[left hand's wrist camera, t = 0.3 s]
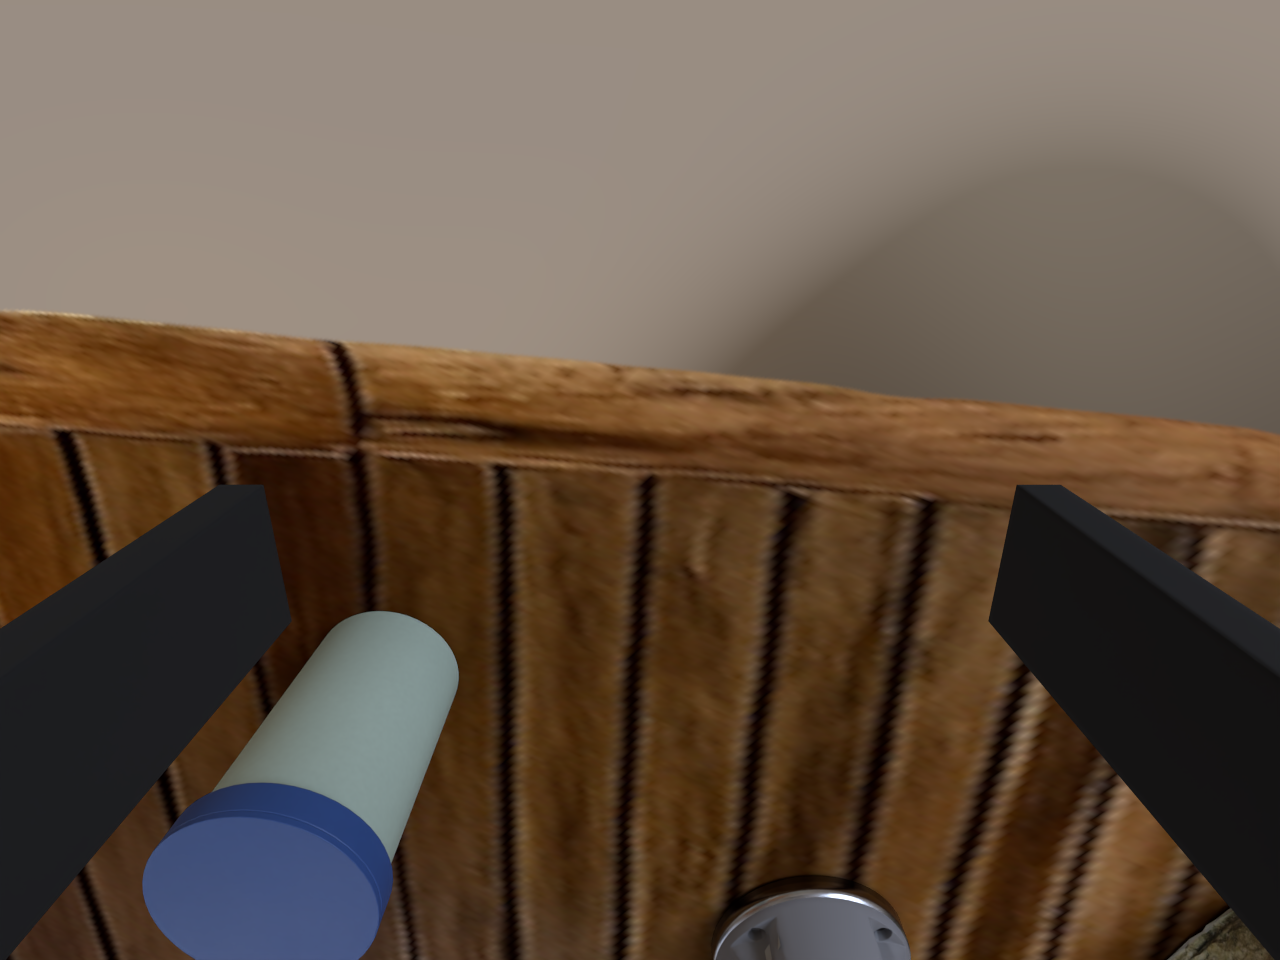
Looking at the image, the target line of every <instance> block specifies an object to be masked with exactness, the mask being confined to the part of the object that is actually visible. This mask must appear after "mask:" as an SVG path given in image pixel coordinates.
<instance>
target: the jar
mask: <svg viewBox="0 0 1280 960" xmlns="http://www.w3.org/2000/svg"><path fill="white" fill-rule="evenodd" d="M458 681H459V672H458V666H457V662H456V659H455V657H454V655H453V653H452V651H451V649H450V647H449V646H448V644H447V643H446V642H445V640H444V639H443V638H442V637H441V636H440V635H439V634H438V633H437V632H436V631H434V630H433V629H432V628H430V627H429V626H428V625H426V624H424V623H423V622H421V621H419V620H417V619H414V618H412V617H410V616H407V615H403V614H400V613H394V612H386V611H372V612H366V613H361V614H357V615H354V616H352V617H349V618H347V619H345V620H343V621H342V622H340V623H339V624H337V625H336V626H335V627H334V628H333V629H332V630H331V631H330V632H329V633H328V634H327V636H326V637H325V638H324V640H323V641H322V642H321V644H320V645H319V647H318V648H317V649H316V651H315V652H314V653H313V655H312V656H311V657H310V659H309V660H308V662H307V663H306V664H305V666H304V667H303V668H302V670H301V671H300V672H299V674H298V675H297V677H296V678H295V679H294V681H293V682H292V683H291V685H290V686H289V687H288V689H287V690H286V692H285V693H284V694H283V696H282V697H281V698H280V700H279V701H278V702H277V704H276V705H275V707H274V708H273V709H272V711H271V712H270V713H269V715H268V716H267V717H266V719H265V720H264V722H263V723H262V724H261V726H260V727H259V728H258V730H257V731H256V732H255V734H254V735H253V737H252V738H251V739H250V741H249V742H248V743H247V745H246V746H245V747H244V749H243V750H242V752H241V753H240V754H239V756H238V757H237V758H236V760H235V761H234V762H233V764H232V765H231V766H230V768H229V769H228V771H227V772H226V773H225V775H224V776H223V777H222V779H221V780H220V781H219V783H218V784H217V786H216V787H215V788H214V790H213V791H212V792H214V791H216V790H218V789H221V788H225V787H229V786H232V785H238V784H245V783H279V784H285V785H291V786H296V787H300V788H304V789H307V790H311V791H313V792H316V793H319V794H322V795H324V796H326V797H328V798H330V799H332V800H335V801H337V802H338V803H340V804H342V805H343V806H345V807H347V808H348V809H350V810H351V811H352V812H354V813H355V814H356V815H358V816H359V817H360V818H361V819H363V820H364V821H365V822H366V823H367V824H368V825H369V826H370V827H371V828H372V830H373V831H374V832H375V833H376V835H377V836H378V837H379V838H380V840H381V842H382V843H383V845H384V847H385V849H386V851H387V853H388V856H389V858H390V862H392V860H393V857H394V854H395V852H396V849H397V847H398V844H399V841H400V839H401V836H402V833H403V831H404V828H405V825H406V823H407V820H408V818H409V815H410V812H411V810H412V807H413V804H414V802H415V799H416V797H417V794H418V791H419V789H420V786H421V783H422V781H423V778H424V775H425V773H426V770H427V768H428V765H429V762H430V760H431V757H432V754H433V752H434V749H435V747H436V744H437V741H438V739H439V736H440V733H441V731H442V728H443V725H444V723H445V720H446V718H447V715H448V712H449V710H450V707H451V704H452V702H453V699H454V697H455V694H456V691H457V688H458Z"/></svg>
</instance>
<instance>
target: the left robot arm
mask: <svg viewBox="0 0 1280 960" xmlns="http://www.w3.org/2000/svg"><path fill="white" fill-rule="evenodd" d="M290 622H291V616H290V611H289V606H288V602H287V597H286V592H285V587H284V582H283V578H282V573H281V568H280V563H279V558H278V553H277V549H276V544H275V539H274V534H273V529H272V525H271V520H270V515H269V510H268V505H267V501H266V496H265V491H264V486H263V485H218V486H217V487H215V488H214V489H212V490H211V491H209V492H208V493H206V494H205V495H203V496H202V497H200V498H199V499H197V500H196V501H194V502H193V503H191V504H189V505H188V506H186V507H185V508H183V509H182V510H180V511H179V512H177V513H176V514H174V515H173V516H171V517H170V518H168V519H167V520H165V521H164V522H162V523H161V524H159V525H158V526H156V527H154V528H153V529H151V530H150V531H148V532H147V533H145V534H144V535H142V536H141V537H139V538H138V539H136V540H135V541H133V542H132V543H130V544H129V545H127V546H126V547H124V548H123V549H121V550H119V551H118V552H116V553H115V554H113V555H112V556H110V557H109V558H107V559H106V560H104V561H103V562H101V563H100V564H98V565H97V566H95V567H94V568H92V569H91V570H89V571H88V572H86V573H85V574H83V575H81V576H80V577H78V578H77V579H75V580H74V581H72V582H71V583H69V584H68V585H66V586H65V587H63V588H62V589H60V590H59V591H57V592H56V593H54V594H53V595H51V596H50V597H48V598H46V599H45V600H43V601H42V602H40V603H39V604H37V605H36V606H34V607H33V608H31V609H30V610H28V611H27V612H25V613H24V614H22V615H21V616H19V617H18V618H16V619H15V620H13V621H11V622H10V623H8V624H7V625H5V626H4V627H2V628H1V629H0V960H6V959H7V958H8V956H9V955H10V954H11V953H12V952H13V950H14V949H15V948H16V947H17V946H18V945H19V943H20V942H21V941H22V940H23V939H24V937H25V936H26V935H27V934H28V933H29V931H30V930H31V929H32V928H33V927H34V926H35V924H36V923H37V922H38V921H39V920H40V918H41V917H42V916H43V915H44V914H45V913H46V911H47V910H48V909H49V908H50V907H51V905H52V904H53V903H54V902H55V901H56V900H57V898H58V897H59V896H60V895H61V894H62V892H63V891H64V890H65V889H66V888H67V886H68V885H69V884H70V883H71V882H72V881H73V879H74V878H75V877H76V876H77V875H78V873H79V872H80V871H81V870H82V869H83V868H84V866H85V865H86V864H87V863H88V862H89V860H90V859H91V858H92V857H93V856H94V854H95V853H96V852H97V851H98V850H99V849H100V847H101V846H102V845H103V844H104V843H105V841H106V840H107V839H108V838H109V837H110V836H111V834H112V833H113V832H114V831H115V830H116V828H117V827H118V826H119V825H120V824H121V823H122V821H123V820H124V819H125V818H126V817H127V815H128V814H129V813H130V812H131V811H132V809H133V808H134V807H135V806H136V805H137V804H138V802H139V801H140V800H141V799H142V798H143V796H144V795H145V794H146V793H147V792H148V791H149V789H150V788H151V787H152V786H153V785H154V783H155V782H156V781H157V780H158V779H159V778H160V776H161V775H162V774H163V773H164V772H165V770H166V769H167V768H168V767H169V766H170V764H171V763H172V762H173V761H174V760H175V759H176V757H177V756H178V755H179V754H180V753H181V751H182V750H183V749H184V748H185V747H186V746H187V744H188V743H189V742H190V741H191V740H192V738H193V737H194V736H195V735H196V734H197V732H198V731H199V730H200V729H201V728H202V727H203V725H204V724H205V723H206V722H207V721H208V719H209V718H210V717H211V716H212V715H213V714H214V712H215V711H216V710H217V709H218V708H219V706H220V705H221V704H222V703H223V702H224V701H225V699H226V698H227V697H228V696H229V695H230V693H231V692H232V691H233V690H234V689H235V687H236V686H237V685H238V684H239V683H240V682H241V680H242V679H243V678H244V677H245V676H246V674H247V673H248V672H249V671H250V670H251V669H252V667H253V666H254V665H255V664H256V663H257V661H258V660H259V659H260V658H261V657H262V655H263V654H264V653H265V652H266V651H267V650H268V648H269V647H270V646H271V645H272V644H273V642H274V641H275V640H276V639H277V638H278V637H279V635H280V634H281V633H282V632H283V631H284V629H285V628H286V627H287V626H288V625H289V624H290ZM989 622H990V624H991V625H992V626H993V627H994V628H995V629H996V631H997V632H998V633H999V634H1000V635H1001V637H1002V638H1003V639H1004V640H1005V641H1006V642H1007V644H1008V645H1009V646H1010V647H1011V648H1012V650H1013V651H1014V652H1015V653H1016V654H1017V656H1018V657H1019V658H1020V659H1021V660H1022V661H1023V663H1024V664H1025V665H1026V666H1027V667H1028V669H1029V670H1030V671H1031V672H1032V673H1033V674H1034V676H1035V677H1036V678H1037V679H1038V680H1039V682H1040V683H1041V684H1042V685H1043V686H1044V687H1045V689H1046V690H1047V691H1048V692H1049V693H1050V695H1051V696H1052V697H1053V698H1054V699H1055V701H1056V702H1057V703H1058V704H1059V705H1060V706H1061V708H1062V709H1063V710H1064V711H1065V712H1066V714H1067V715H1068V716H1069V717H1070V718H1071V719H1072V721H1073V722H1074V723H1075V724H1076V725H1077V727H1078V728H1079V729H1080V730H1081V731H1082V732H1083V734H1084V735H1085V736H1086V737H1087V738H1088V740H1089V741H1090V742H1091V743H1092V744H1093V746H1094V747H1095V748H1096V749H1097V750H1098V751H1099V753H1100V754H1101V755H1102V756H1103V757H1104V759H1105V760H1106V761H1107V762H1108V763H1109V764H1110V766H1111V767H1112V768H1113V769H1114V770H1115V772H1116V773H1117V774H1118V775H1119V776H1120V778H1121V779H1122V780H1123V781H1124V782H1125V783H1126V785H1127V786H1128V787H1129V788H1130V789H1131V791H1132V792H1133V793H1134V794H1135V795H1136V796H1137V798H1138V799H1139V800H1140V801H1141V802H1142V804H1143V805H1144V806H1145V807H1146V808H1147V809H1148V811H1149V812H1150V813H1151V814H1152V815H1153V817H1154V818H1155V819H1156V820H1157V821H1158V823H1159V824H1160V825H1161V826H1162V827H1163V828H1164V830H1165V831H1166V832H1167V833H1168V834H1169V836H1170V837H1171V838H1172V839H1173V840H1174V841H1175V843H1176V844H1177V845H1178V846H1179V847H1180V849H1181V850H1182V851H1183V852H1184V853H1185V854H1186V856H1187V857H1188V858H1189V859H1190V860H1191V862H1192V863H1193V864H1194V865H1195V866H1196V868H1197V869H1198V870H1199V871H1200V872H1201V873H1202V875H1203V876H1204V877H1205V878H1206V879H1207V881H1208V882H1209V883H1210V884H1211V885H1212V886H1213V888H1214V889H1215V890H1216V891H1217V892H1218V894H1219V895H1220V896H1221V897H1222V898H1223V900H1224V901H1225V902H1226V903H1227V904H1228V905H1229V907H1230V908H1231V909H1232V910H1233V911H1234V913H1235V914H1236V915H1237V916H1238V917H1239V918H1240V920H1241V921H1242V922H1243V923H1244V924H1245V926H1246V927H1247V928H1248V929H1249V930H1250V931H1251V933H1252V934H1253V935H1254V936H1255V937H1256V939H1257V940H1258V941H1259V942H1260V943H1261V945H1262V946H1263V947H1264V948H1265V949H1266V950H1267V952H1268V953H1269V954H1270V955H1271V956H1272V958H1273V959H1274V960H1280V629H1279V628H1278V627H1276V626H1275V625H1273V624H1272V623H1270V622H1269V621H1267V620H1265V619H1264V618H1262V617H1261V616H1259V615H1258V614H1256V613H1255V612H1253V611H1252V610H1250V609H1249V608H1247V607H1246V606H1244V605H1243V604H1241V603H1240V602H1238V601H1237V600H1235V599H1234V598H1232V597H1230V596H1229V595H1227V594H1226V593H1224V592H1223V591H1221V590H1220V589H1218V588H1217V587H1215V586H1214V585H1212V584H1211V583H1209V582H1208V581H1206V580H1205V579H1203V578H1202V577H1200V576H1199V575H1197V574H1195V573H1194V572H1192V571H1191V570H1189V569H1188V568H1186V567H1185V566H1183V565H1182V564H1180V563H1179V562H1177V561H1176V560H1174V559H1173V558H1171V557H1170V556H1168V555H1167V554H1165V553H1164V552H1162V551H1160V550H1159V549H1157V548H1156V547H1154V546H1153V545H1151V544H1150V543H1148V542H1147V541H1145V540H1144V539H1142V538H1141V537H1139V536H1138V535H1136V534H1135V533H1133V532H1132V531H1130V530H1129V529H1127V528H1126V527H1124V526H1122V525H1121V524H1119V523H1118V522H1116V521H1115V520H1113V519H1112V518H1110V517H1109V516H1107V515H1106V514H1104V513H1103V512H1101V511H1100V510H1098V509H1097V508H1095V507H1094V506H1092V505H1091V504H1089V503H1087V502H1086V501H1084V500H1083V499H1081V498H1080V497H1078V496H1077V495H1075V494H1074V493H1072V492H1071V491H1069V490H1068V489H1066V488H1065V487H1063V486H1062V485H1017V486H1016V491H1015V496H1014V501H1013V505H1012V510H1011V515H1010V520H1009V525H1008V529H1007V534H1006V539H1005V544H1004V549H1003V553H1002V558H1001V563H1000V568H999V573H998V578H997V582H996V587H995V592H994V597H993V602H992V606H991V611H990V616H989ZM711 949H712V960H911V953H910V947H909V944H908V941H907V938H906V935H905V933H904V930H903V927H902V924H901V922H900V919H899V917H898V915H897V913H896V912H895V910H894V908H893V907H892V906H891V905H890V904H889V902H887V901H886V900H885V899H884V898H883V897H882V896H881V895H879V894H878V893H876V892H875V891H873V890H871V889H870V888H868V887H866V886H863V885H861V884H858V883H856V882H853V881H849V880H846V879H841V878H836V877H827V876H804V877H795V878H789V879H784V880H780V881H776V882H773V883H770V884H767V885H765V886H763V887H760V888H758V889H756V890H754V891H752V892H750V893H749V894H747V895H745V896H744V897H742V898H741V899H740V900H738V901H737V902H736V903H735V904H734V905H732V906H731V907H730V908H729V909H728V910H727V912H726V913H725V914H724V915H723V917H722V918H721V919H720V921H719V923H718V925H717V926H716V929H715V931H714V934H713V938H712V945H711Z"/></svg>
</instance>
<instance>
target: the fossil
mask: <svg viewBox="0 0 1280 960" xmlns="http://www.w3.org/2000/svg"><path fill="white" fill-rule="evenodd" d="M1168 960H1274V959H1273V958H1272V956H1271V955H1270V954H1269V953H1268V952H1267V950H1266V949H1265V948H1264V947H1263V946H1262V945H1261V943H1260V942H1259V941H1258V940H1257V939H1256V937H1255V936H1254V935H1253V934H1252V933H1251V931H1250V930H1249V929H1248V928H1247V927H1246V926H1245V924H1244V923H1243V922H1242V921H1241V920H1240V918H1239V917H1238V916H1237V915H1236V914H1235V913H1234V911H1233V910H1232V909H1231V908H1230V909H1228V910H1227V911H1226V912H1225V913H1223V914H1222V915H1221V916H1219V917H1218V918H1217V919H1216V920H1214V921H1212V922H1211V923H1209V924H1208V925H1206V927H1205V928H1204V930H1203V931H1202V932H1201V933H1199V934H1197V935H1195V936H1194V937H1192V938H1190V939H1189V940H1188V941H1187V942H1186V943H1185V944H1184V945H1183V946H1182V947H1180V948H1179V949H1178V950H1177V951H1176V952H1175V953H1174V954H1173V955H1172V956H1171V957H1170V958H1169V959H1168Z"/></svg>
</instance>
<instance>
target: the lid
mask: <svg viewBox="0 0 1280 960" xmlns="http://www.w3.org/2000/svg"><path fill="white" fill-rule="evenodd" d="M142 883H143V895H144V899H145V903H146V906H147V908H148V911H149V913H150V915H151V917H152V918H153V920H154V922H155V923H156V925H157V926H158V927H159V929H160V930H161V931H162V932H163V934H164V935H165V936H166V937H167V938H168V939H169V940H170V941H171V942H172V943H173V944H174V945H176V946H177V947H178V948H180V949H181V950H182V951H183V952H185V953H186V954H188V955H189V956H191V957H192V958H194V959H196V960H358V959H359V958H360V957H361V956H362V955H363V954H364V953H365V952H366V951H367V949H368V948H369V947H370V946H371V944H372V942H373V940H374V938H375V936H376V933H377V931H378V928H379V925H380V922H381V920H382V917H383V914H384V911H385V909H386V906H387V903H388V900H389V897H390V894H391V891H392V884H393V874H392V866H391V862H390V858H389V856H388V853H387V851H386V849H385V847H384V845H383V843H382V842H381V840H380V838H379V837H378V836H377V835H376V833H375V832H374V831H373V830H372V828H371V827H370V826H369V825H368V824H367V823H366V822H365V821H364V820H363V819H361V818H360V817H359V816H358V815H356V814H355V813H354V812H352V811H351V810H350V809H348V808H347V807H345V806H343V805H342V804H340V803H338V802H337V801H335V800H332V799H330V798H328V797H326V796H324V795H322V794H319V793H316V792H313V791H311V790H307V789H304V788H300V787H296V786H291V785H285V784H279V783H245V784H238V785H232V786H229V787H225V788H221V789H218V790H216V791H214V792H211V793H209V794H207V795H205V796H203V797H202V798H200V799H198V800H196V801H195V802H194V803H193V804H191V805H190V806H189V807H188V808H187V809H186V810H185V811H184V812H183V813H182V814H181V815H180V817H179V818H178V819H177V820H176V822H175V823H174V824H173V826H172V827H171V828H170V830H169V831H168V832H167V834H166V835H165V836H164V838H163V839H162V840H161V842H160V843H159V844H158V846H157V847H156V848H155V849H154V851H153V852H152V854H151V856H150V858H149V859H148V861H147V864H146V867H145V870H144V874H143V882H142Z"/></svg>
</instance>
